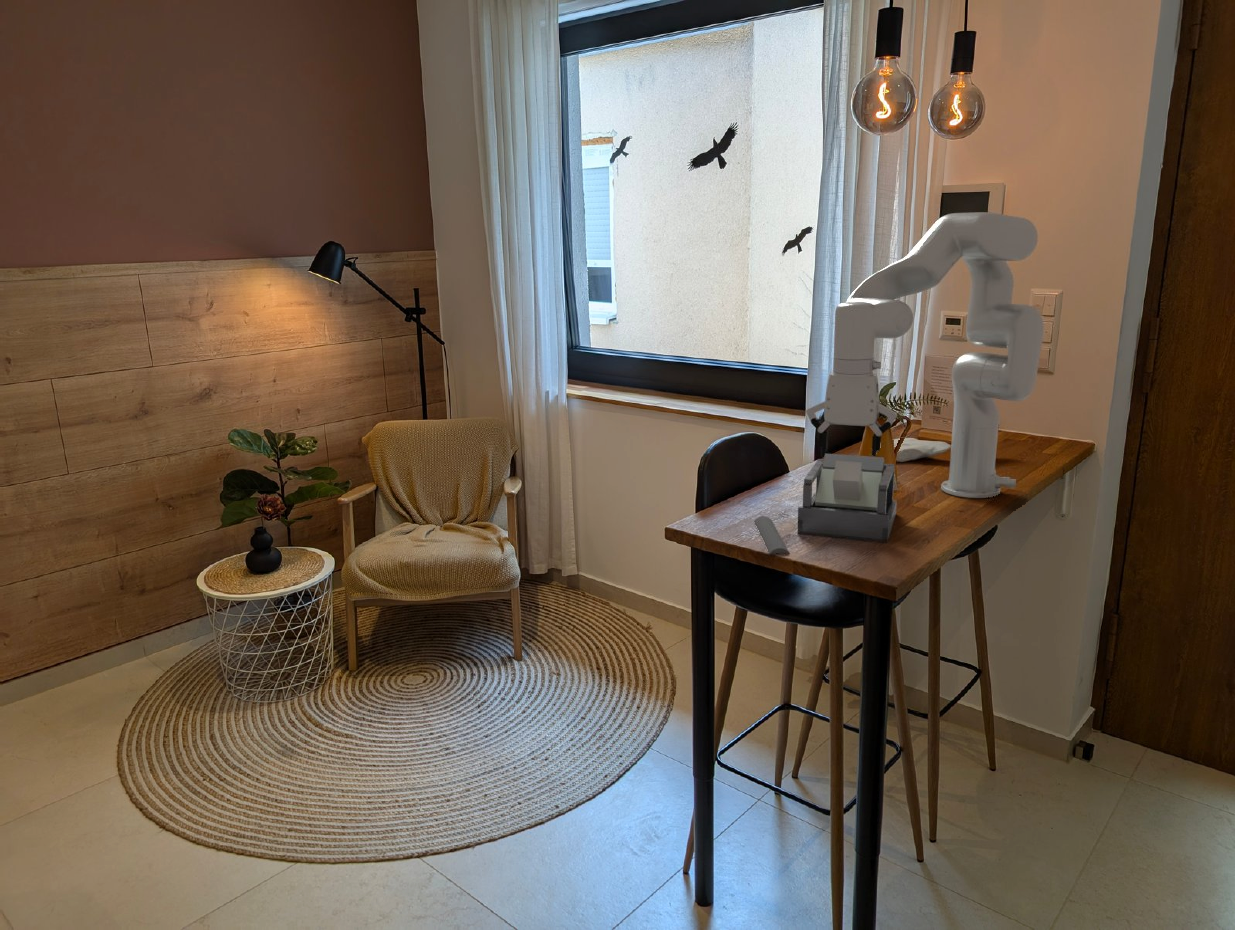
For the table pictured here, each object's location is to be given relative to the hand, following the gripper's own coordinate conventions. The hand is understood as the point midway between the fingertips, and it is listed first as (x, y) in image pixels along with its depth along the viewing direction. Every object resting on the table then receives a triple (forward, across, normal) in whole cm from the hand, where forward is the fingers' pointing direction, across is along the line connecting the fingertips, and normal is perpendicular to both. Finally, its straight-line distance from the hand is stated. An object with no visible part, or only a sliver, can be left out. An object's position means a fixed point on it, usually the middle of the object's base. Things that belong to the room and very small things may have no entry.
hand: (849, 452), depth 176 cm
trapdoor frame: (+16, 0, -3) cm, 16 cm away
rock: (+16, -6, -62) cm, 64 cm away
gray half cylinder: (+17, +13, +10) cm, 23 cm away
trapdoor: (+8, 0, -4) cm, 9 cm away
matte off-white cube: (+8, 0, -1) cm, 8 cm away
